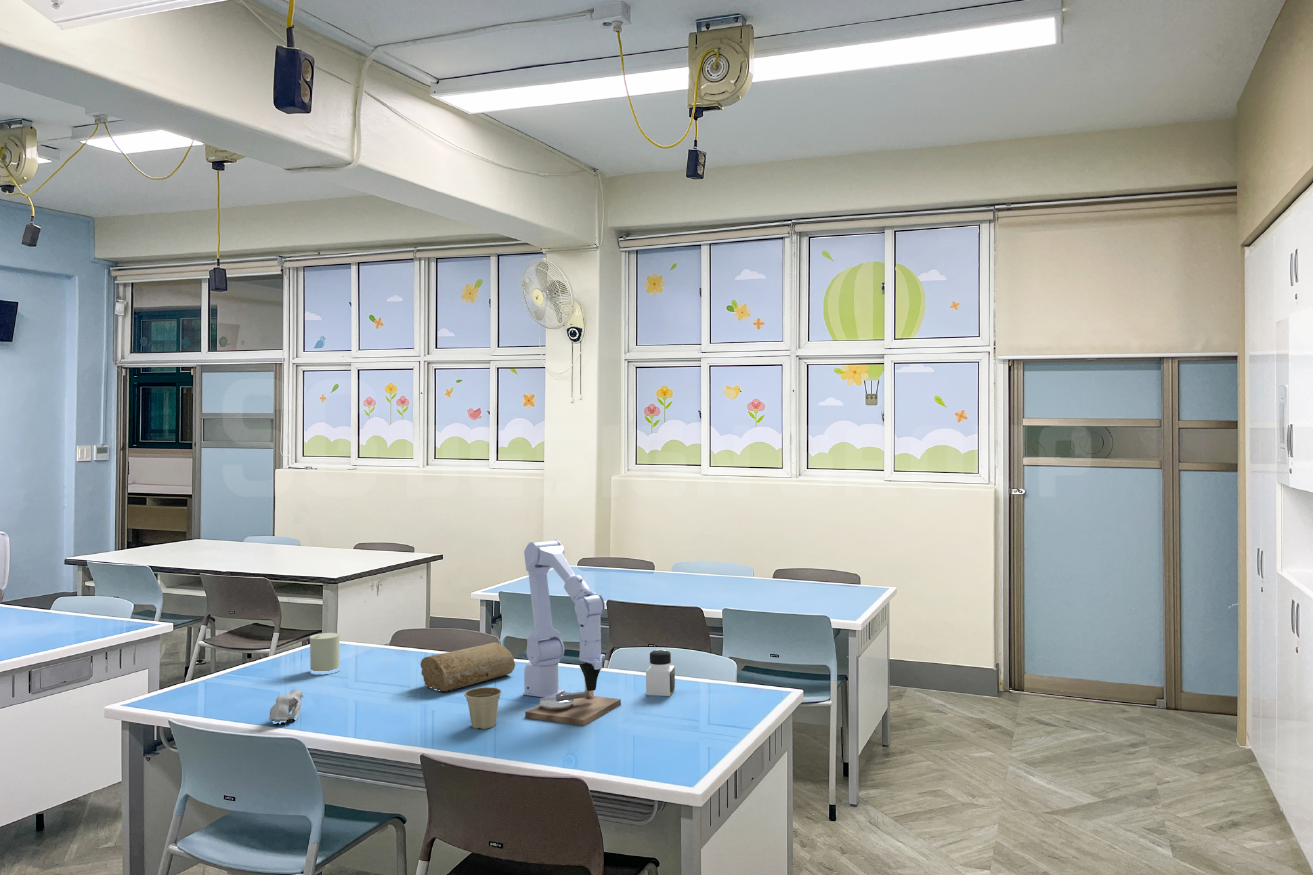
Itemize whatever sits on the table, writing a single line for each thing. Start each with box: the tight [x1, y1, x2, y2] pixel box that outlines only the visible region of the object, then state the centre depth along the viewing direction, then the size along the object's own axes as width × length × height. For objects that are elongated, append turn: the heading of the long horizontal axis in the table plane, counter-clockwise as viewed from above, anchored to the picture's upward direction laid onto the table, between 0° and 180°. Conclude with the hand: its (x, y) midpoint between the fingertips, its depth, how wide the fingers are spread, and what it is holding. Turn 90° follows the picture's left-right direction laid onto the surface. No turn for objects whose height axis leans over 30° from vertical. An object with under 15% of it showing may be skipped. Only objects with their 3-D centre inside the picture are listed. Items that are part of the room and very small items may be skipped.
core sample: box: [419, 642, 516, 693], centre depth 278 cm, size 14×26×10 cm, turn 139°
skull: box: [268, 689, 304, 722], centre depth 242 cm, size 8×9×12 cm
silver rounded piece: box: [539, 682, 595, 710], centre depth 246 cm, size 15×9×6 cm, turn 108°
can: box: [309, 632, 341, 671], centre depth 292 cm, size 9×9×12 cm
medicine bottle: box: [645, 649, 676, 697], centre depth 262 cm, size 7×7×12 cm
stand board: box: [524, 691, 622, 727], centre depth 246 cm, size 18×20×2 cm
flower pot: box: [463, 687, 503, 730], centre depth 235 cm, size 9×9×9 cm
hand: (591, 690), depth 246 cm, fingers closed
